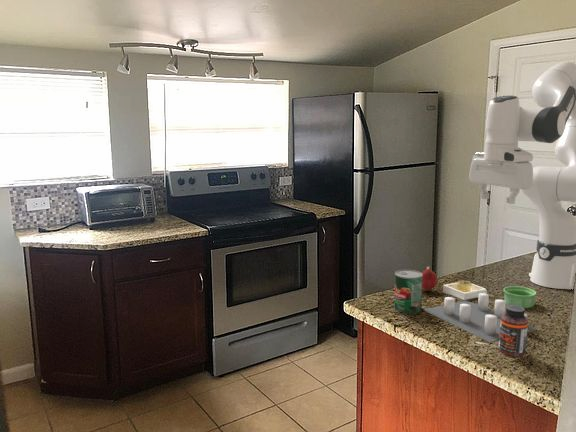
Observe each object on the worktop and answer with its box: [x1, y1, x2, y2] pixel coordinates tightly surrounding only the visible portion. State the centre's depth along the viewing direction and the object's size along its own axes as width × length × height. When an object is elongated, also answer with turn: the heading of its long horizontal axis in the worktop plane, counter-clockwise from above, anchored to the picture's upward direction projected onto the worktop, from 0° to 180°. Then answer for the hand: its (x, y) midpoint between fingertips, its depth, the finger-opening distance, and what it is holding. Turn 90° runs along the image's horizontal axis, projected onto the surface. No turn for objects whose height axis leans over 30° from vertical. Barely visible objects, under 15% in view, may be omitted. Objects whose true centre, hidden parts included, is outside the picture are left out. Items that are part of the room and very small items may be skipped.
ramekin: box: [502, 285, 537, 309], centre depth 155 cm, size 9×9×4 cm
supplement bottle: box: [498, 305, 529, 358], centre depth 123 cm, size 6×6×11 cm
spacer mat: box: [422, 292, 538, 343], centre depth 143 cm, size 17×25×5 cm
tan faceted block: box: [456, 279, 473, 293], centre depth 164 cm, size 5×4×4 cm
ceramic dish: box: [442, 282, 487, 301], centre depth 164 cm, size 9×9×2 cm
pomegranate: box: [421, 266, 438, 292], centre depth 167 cm, size 6×6×8 cm
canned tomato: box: [393, 269, 423, 314], centre depth 152 cm, size 8×8×11 cm
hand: (497, 201), depth 152 cm, fingers open, 8 cm apart
